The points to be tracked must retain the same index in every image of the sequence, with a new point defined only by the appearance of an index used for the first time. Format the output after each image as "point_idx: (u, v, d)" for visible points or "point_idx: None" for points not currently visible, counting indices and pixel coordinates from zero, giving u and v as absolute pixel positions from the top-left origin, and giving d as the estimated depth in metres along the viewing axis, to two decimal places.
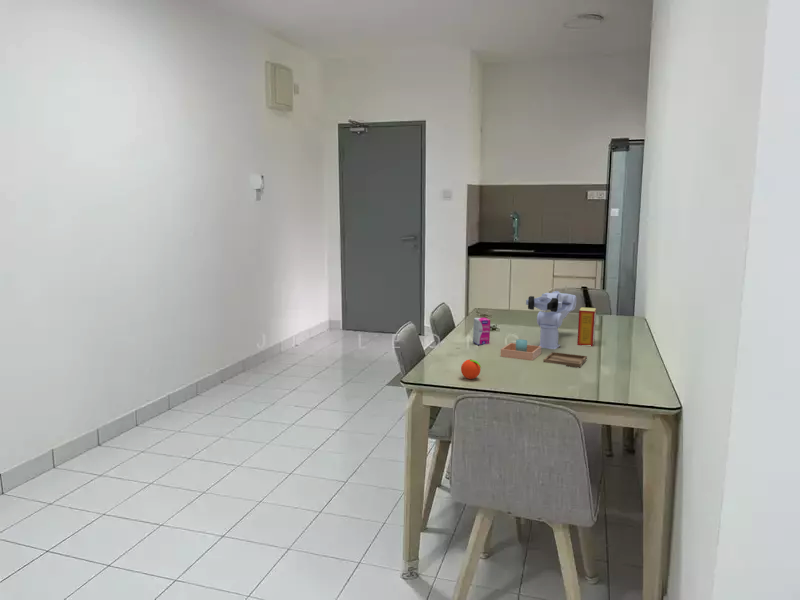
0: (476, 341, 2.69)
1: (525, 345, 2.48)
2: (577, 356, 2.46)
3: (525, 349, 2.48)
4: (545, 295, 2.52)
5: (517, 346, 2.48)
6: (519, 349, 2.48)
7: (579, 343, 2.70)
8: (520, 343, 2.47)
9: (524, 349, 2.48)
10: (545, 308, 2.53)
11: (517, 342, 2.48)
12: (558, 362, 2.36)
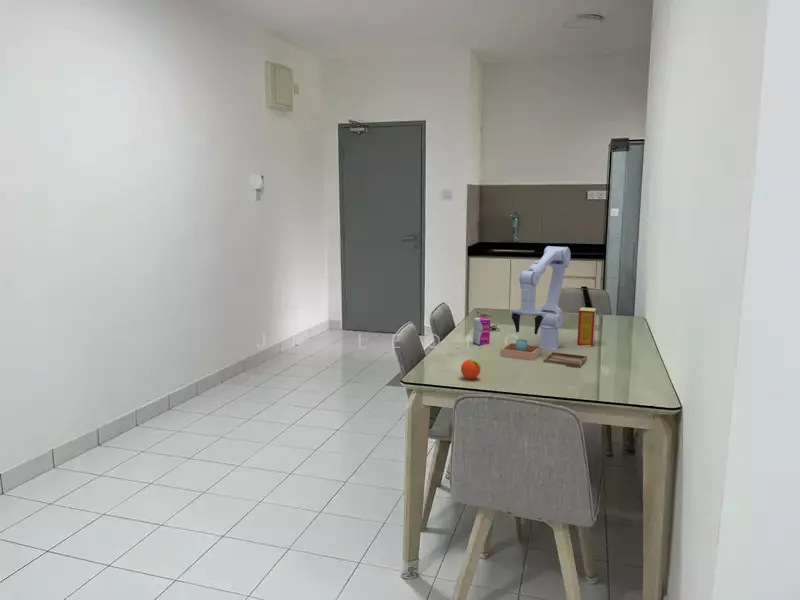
0: (476, 341, 2.69)
1: (525, 345, 2.48)
2: (577, 356, 2.46)
3: (525, 349, 2.48)
4: (526, 313, 2.45)
5: (517, 346, 2.48)
6: (519, 349, 2.48)
7: (579, 343, 2.70)
8: (520, 343, 2.47)
9: (524, 349, 2.48)
10: None
11: (517, 342, 2.48)
12: (558, 362, 2.36)
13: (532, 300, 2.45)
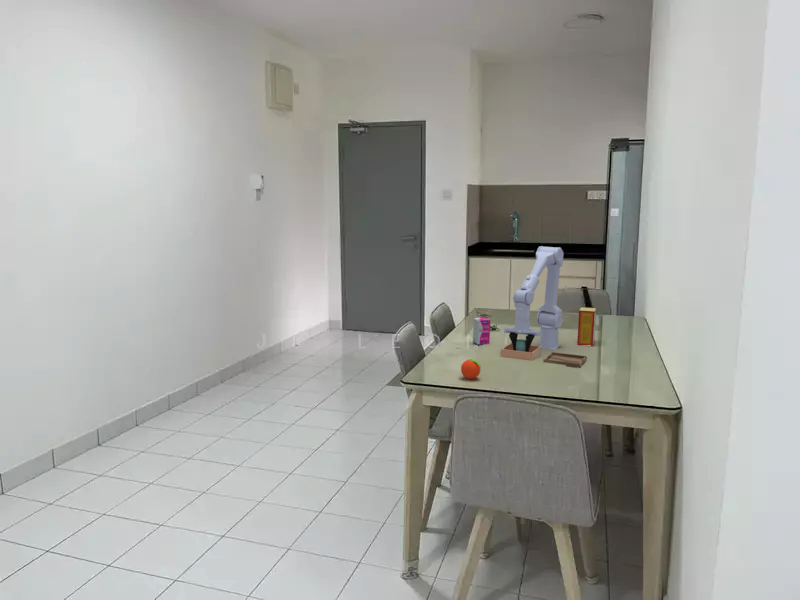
0: (476, 341, 2.69)
1: (525, 345, 2.48)
2: (577, 356, 2.46)
3: (525, 349, 2.48)
4: (520, 332, 2.45)
5: (517, 346, 2.48)
6: (519, 349, 2.48)
7: (579, 343, 2.70)
8: (520, 343, 2.47)
9: (524, 349, 2.48)
10: None
11: (517, 342, 2.48)
12: (558, 362, 2.36)
13: (526, 319, 2.45)
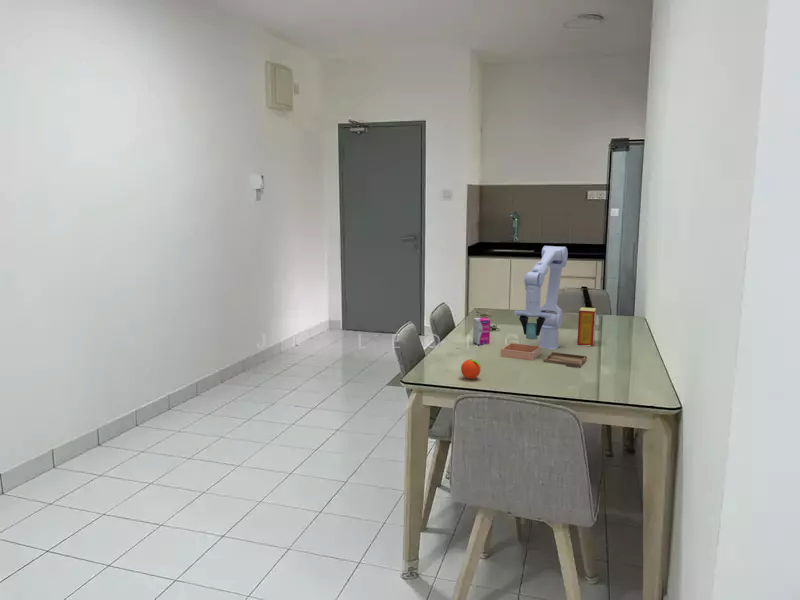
0: (476, 341, 2.69)
1: (536, 328, 2.45)
2: (577, 356, 2.46)
3: None
4: None
5: (527, 329, 2.45)
6: (529, 332, 2.45)
7: (579, 343, 2.70)
8: (530, 326, 2.44)
9: (535, 333, 2.45)
10: None
11: (527, 325, 2.45)
12: (558, 362, 2.36)
13: (538, 301, 2.42)
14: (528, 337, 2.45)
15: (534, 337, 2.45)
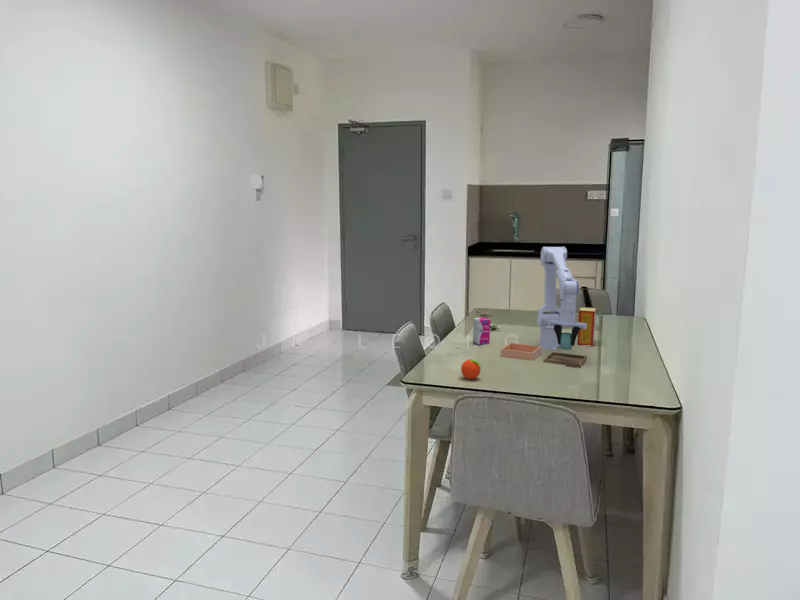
0: (476, 341, 2.69)
1: (571, 338, 2.39)
2: (577, 356, 2.46)
3: (570, 342, 2.39)
4: None
5: (562, 339, 2.39)
6: (564, 342, 2.39)
7: (579, 343, 2.70)
8: (565, 336, 2.38)
9: (570, 343, 2.39)
10: None
11: (562, 335, 2.39)
12: (558, 362, 2.36)
13: (575, 310, 2.38)
14: (563, 347, 2.39)
15: (569, 347, 2.39)
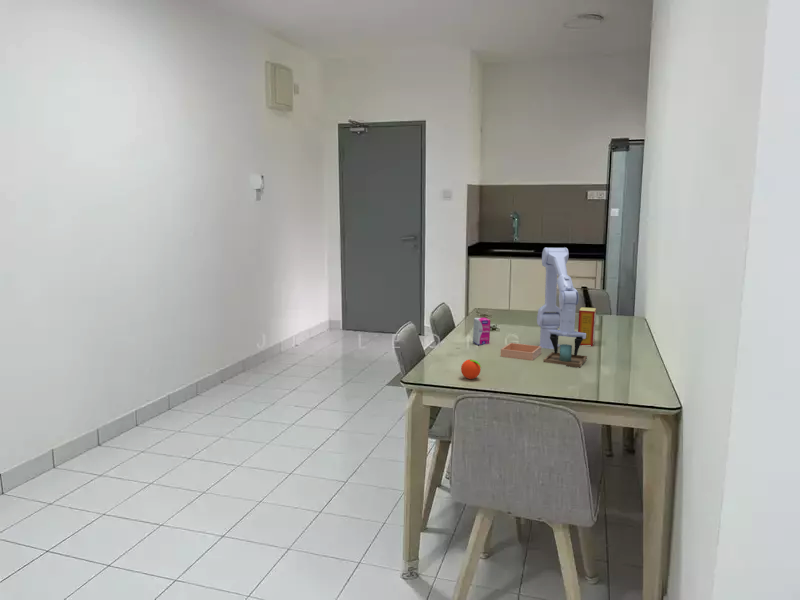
0: (476, 341, 2.69)
1: (570, 350, 2.39)
2: (577, 356, 2.46)
3: (570, 354, 2.40)
4: (566, 335, 2.37)
5: (561, 351, 2.40)
6: (564, 354, 2.39)
7: None
8: (565, 348, 2.39)
9: (569, 355, 2.39)
10: None
11: (561, 347, 2.40)
12: (558, 362, 2.36)
13: (574, 320, 2.38)
14: (562, 359, 2.40)
15: (568, 359, 2.40)
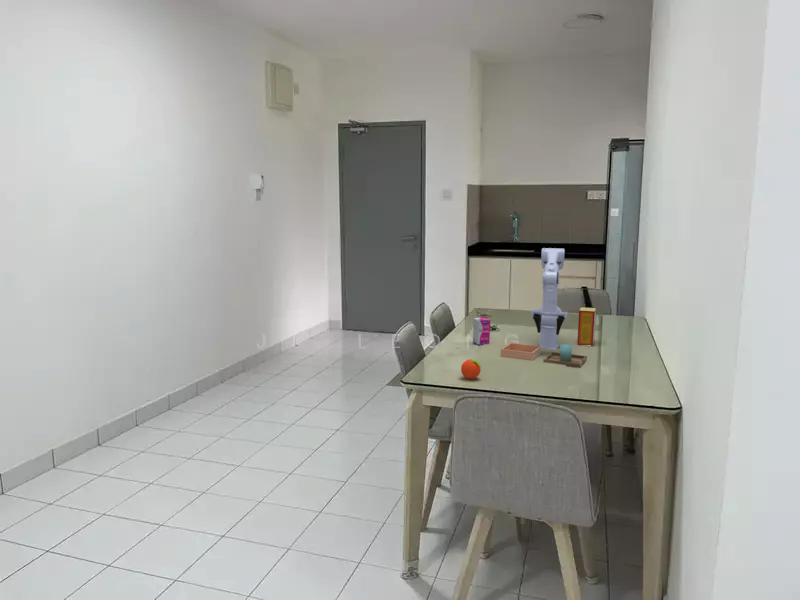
0: (476, 341, 2.69)
1: (570, 350, 2.39)
2: (577, 356, 2.46)
3: (570, 354, 2.40)
4: None
5: (562, 351, 2.40)
6: (564, 354, 2.39)
7: (579, 343, 2.70)
8: (565, 348, 2.39)
9: (569, 355, 2.39)
10: None
11: (562, 347, 2.40)
12: (558, 362, 2.36)
13: (556, 300, 2.46)
14: (562, 359, 2.40)
15: (568, 359, 2.40)
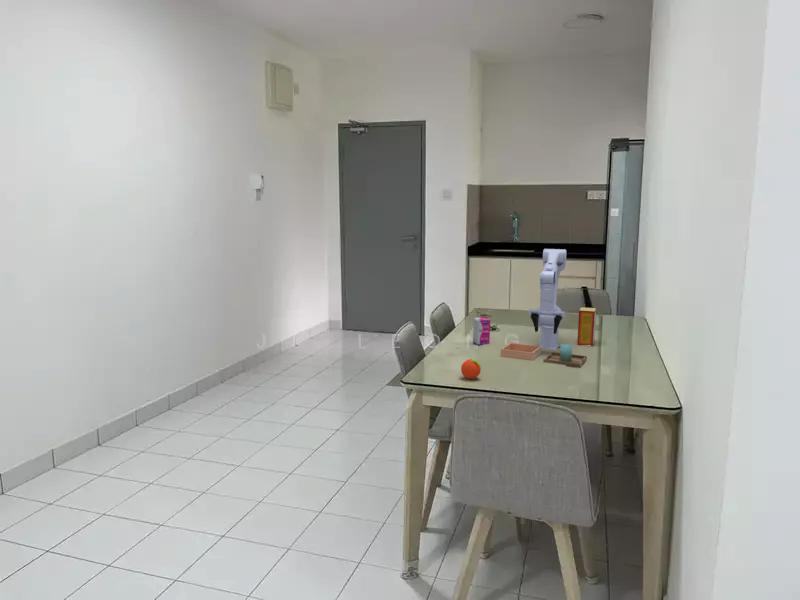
0: (476, 341, 2.69)
1: (570, 350, 2.39)
2: (577, 356, 2.46)
3: (570, 354, 2.40)
4: (545, 313, 2.47)
5: (562, 351, 2.40)
6: (564, 354, 2.39)
7: (579, 343, 2.70)
8: (565, 348, 2.39)
9: (569, 355, 2.39)
10: None
11: (562, 347, 2.40)
12: (558, 362, 2.36)
13: (553, 300, 2.47)
14: (562, 359, 2.40)
15: (568, 359, 2.40)
